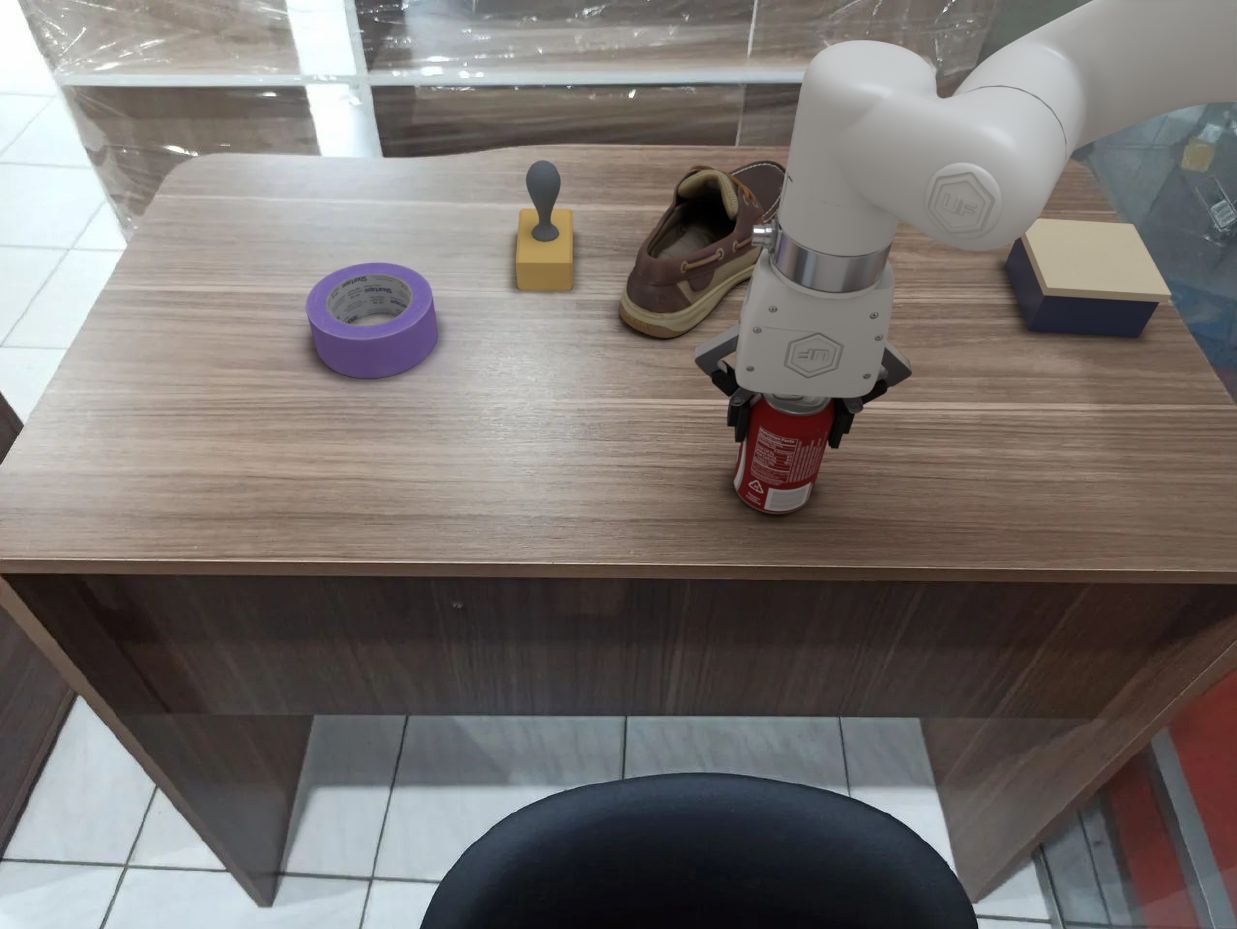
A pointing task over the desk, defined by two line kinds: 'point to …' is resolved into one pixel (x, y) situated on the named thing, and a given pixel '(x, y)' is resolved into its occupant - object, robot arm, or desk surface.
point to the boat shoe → (700, 247)
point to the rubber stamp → (544, 234)
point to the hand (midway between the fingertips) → (785, 431)
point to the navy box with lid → (1085, 278)
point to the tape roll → (377, 344)
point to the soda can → (782, 450)
